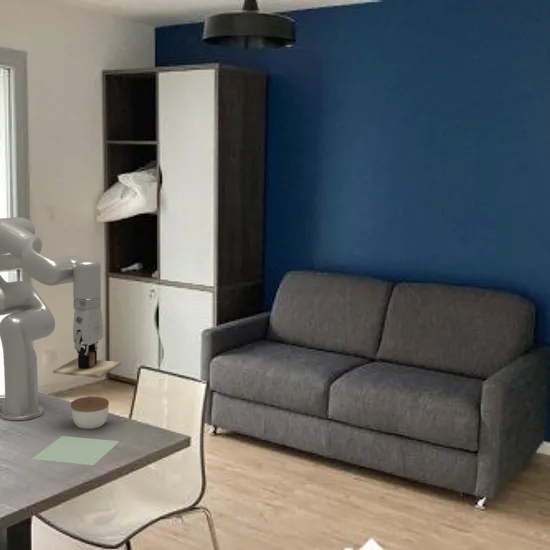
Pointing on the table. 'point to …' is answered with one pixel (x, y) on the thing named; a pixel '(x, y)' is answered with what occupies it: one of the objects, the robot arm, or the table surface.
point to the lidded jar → (89, 412)
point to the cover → (92, 371)
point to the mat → (76, 450)
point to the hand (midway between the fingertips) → (87, 365)
